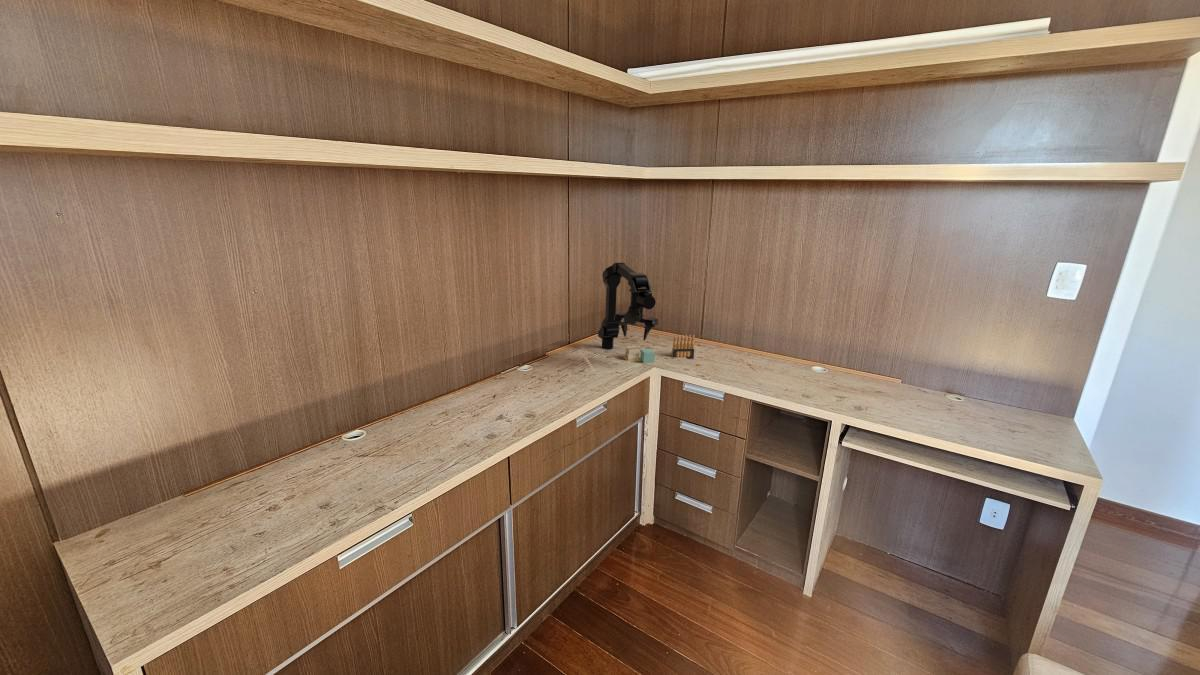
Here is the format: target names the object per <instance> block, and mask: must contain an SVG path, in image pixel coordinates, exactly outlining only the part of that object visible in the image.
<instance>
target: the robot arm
mask: <svg viewBox="0 0 1200 675" xmlns="http://www.w3.org/2000/svg"><path fill="white" fill-rule="evenodd" d="M601 275H602V282H603V284H604V285H605V288H606V289H605V293H606V294H605V317H604V319H603V320H602V322H601V327H600V328H599V330H598V331H597V336H598V338H600V339H601V348H602V349H604V350H607V351H608V350H611V351H612V350H613V349H614V339H615V338H618V337H619V334H620V328H621V330H622V333H623V334H622V335H623V337H625V338H626V337H627V335H628V334H627V332H628V325H631V326H632V325H633V326H634V325H635V324H636V323H641V324H644V325H645V326H644V327H643V330H644V331H643V341H645V342H646V339H647V338H648V335H649V334H650V332H651V330H652V329H653V328H655V327H656V326H658V325H659V319H658V318H656V317H648V318H644V317H645V316H644V309H646V310H651V309H653V308H654V307H655V305H656V303H657V302H656V298H655V297H654V296H653V293H652V286H651V283H650V281H649V279H648V276H647V275H646V274H644V273H640V272H636V271H635V270H633V269H632V268H631V267H630V266H628V265H627V264H626V263H625V262H615V263H613V264H611V265H610V266H608V267H606V268H605V269H604V270H603V271H602V274H601ZM621 278H624V279H625V280H627V284H628V286H629V288H630V289H629V290H628V291H629V292H630V303H629V304H630V305H629V306H628V310H627V312H623V311H620V312H619V311H618V313H617V292H618V291H617V289H618V286H619V285H620V284H621V280H622V279H621Z"/></svg>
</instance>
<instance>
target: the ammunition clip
mask: <svg viewBox="0 0 1200 675" xmlns="http://www.w3.org/2000/svg"><path fill="white" fill-rule="evenodd" d="M670 356H671V358H675V359H676V358H686V359H687V360H695V359H694V358H695V357H694V356H695V334H692V337H691V334H689V335H687V334H685V336H684V334H682V335H680V334H678V336H677V334H674V337H673V342H672V350H671V355H670Z"/></svg>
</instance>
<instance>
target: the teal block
mask: <svg viewBox="0 0 1200 675" xmlns="http://www.w3.org/2000/svg"><path fill="white" fill-rule="evenodd" d="M655 356H656V352H655V351H654V350H653V349H652V348H641V349H640V355H639V359H640V360H641V361H640V362H642V363H643V364H652V363H653V364H654V363H655V358H656V357H655Z"/></svg>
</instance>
